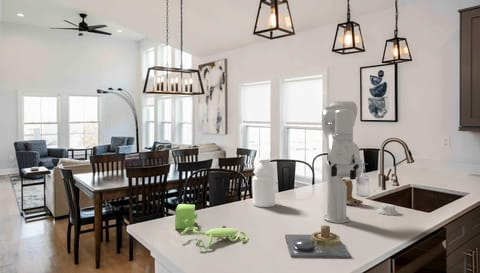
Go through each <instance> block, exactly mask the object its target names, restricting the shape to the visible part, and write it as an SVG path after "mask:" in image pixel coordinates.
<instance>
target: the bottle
mask: <svg viewBox="0 0 480 273" xmlns="http://www.w3.org/2000/svg"><path fill="white" fill-rule="evenodd" d="M270 160H271V159H270V158H265V157H263V158H259V159H258V164H256V165H255V167H254V169H253V171H252V172H253V174H254V176H253V177H252V204H253V206H254V207H259V208H270V207H274V206H276V202H277V201H276V190H277V189H276V185H277V184H276V182H277V181H276V179H277V178H276V177H275V174H276V170H275V168H274V166H273V165H272V163H270V162H271V161H270Z"/></svg>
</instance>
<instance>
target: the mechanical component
mask: <svg viewBox="0 0 480 273" xmlns="http://www.w3.org/2000/svg"><path fill="white" fill-rule="evenodd" d="M378 212H379V214H380V213H381V215H384V214H386V215H385V216H396V215H398V210H396V206H395V205H394V204H389V203H383V204H380V206H379V208H378V209H377V213H378Z"/></svg>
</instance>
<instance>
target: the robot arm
mask: <svg viewBox="0 0 480 273" xmlns="http://www.w3.org/2000/svg"><path fill="white" fill-rule="evenodd" d="M357 116H358V105H357V103H356V102H355V101H352V100H347V101H346V100H343V101H341V100H339V101H337V100H336V101H332V102H331V103H330V104H329V105H328V106H326V107H324V108H323V110H322V112H321V129H322V131H323V135H324V136H325V138H326V147H327V148H326V149H327V156H326V163H325V171H326V172H325V173H326V180H327V181H326V189H327V190H326V193H327V194H326V196H327V197H326V214H325V215H324V216H323V220H325V221H326V222H328V223H334V224H346V223H348V222H350V217H349V216H347V204H346V195H347V187H346V184H345V183H344V181H343V180H342V179H345V178H349V179H350V180H351V181H352V180H354V181H355V180H357V178H359V177H360V176H361V175H362V174H363V173H362V172H363V166H362V162H363V161H362V160H363V159H361V154H360V147H359V146H358V144H357V143H356V142H354V127H355V124H356V119H357Z"/></svg>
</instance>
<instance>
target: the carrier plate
mask: <svg viewBox="0 0 480 273" xmlns="http://www.w3.org/2000/svg"><path fill="white" fill-rule="evenodd" d="M317 234H321V231H317V232H313V233H311V234H286V233H285V235H284V239H285V242H286V246H287V248H288V249H287V250H288V253H289V256H290V258H291V257H293V258H351V253H350V252H349V249H347V248H346V246H345V244H344V243H343V242H342V241H341V238H340V236H339V234H336V233H334V232H330V234H332V236H335V240H321V239H318V238H316V236H317Z"/></svg>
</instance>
